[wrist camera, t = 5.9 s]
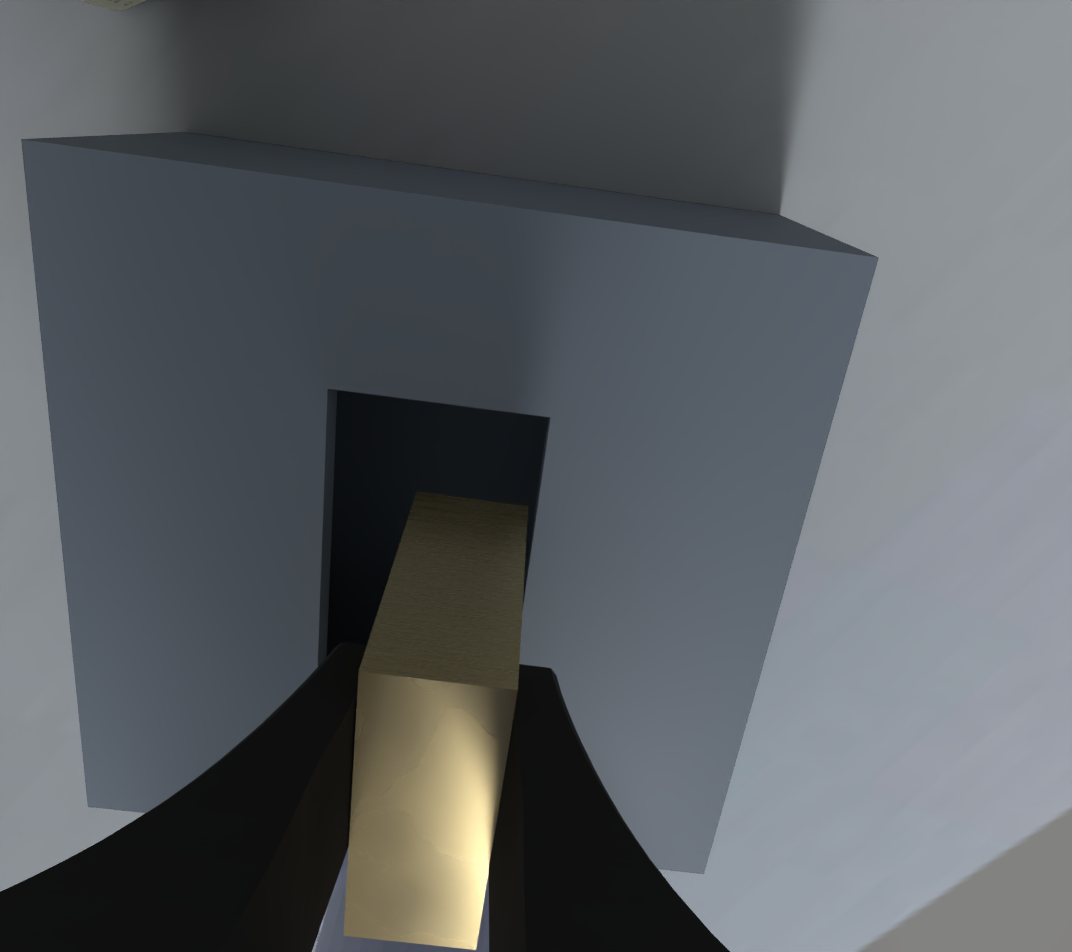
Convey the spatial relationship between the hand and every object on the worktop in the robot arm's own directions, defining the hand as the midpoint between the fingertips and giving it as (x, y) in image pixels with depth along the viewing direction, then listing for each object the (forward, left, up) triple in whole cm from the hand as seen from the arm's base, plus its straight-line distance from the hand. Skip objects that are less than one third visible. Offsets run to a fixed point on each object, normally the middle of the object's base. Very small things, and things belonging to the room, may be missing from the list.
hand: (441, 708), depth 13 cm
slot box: (0, +1, -10) cm, 10 cm away
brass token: (0, 0, -3) cm, 3 cm away
